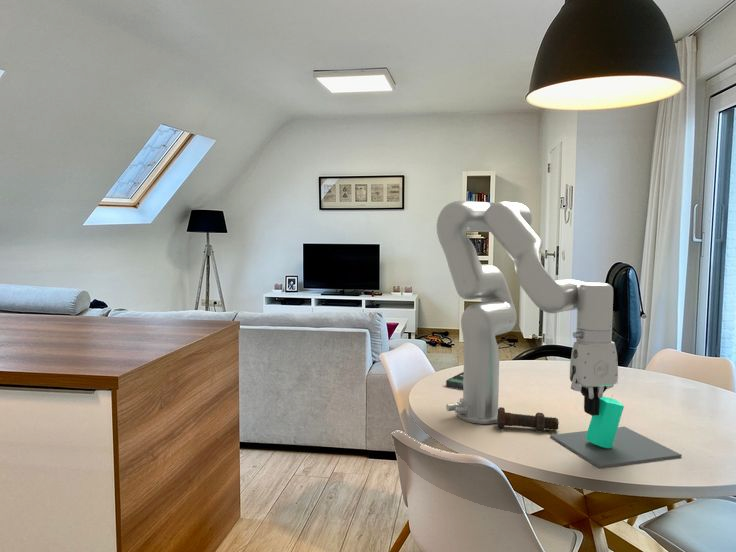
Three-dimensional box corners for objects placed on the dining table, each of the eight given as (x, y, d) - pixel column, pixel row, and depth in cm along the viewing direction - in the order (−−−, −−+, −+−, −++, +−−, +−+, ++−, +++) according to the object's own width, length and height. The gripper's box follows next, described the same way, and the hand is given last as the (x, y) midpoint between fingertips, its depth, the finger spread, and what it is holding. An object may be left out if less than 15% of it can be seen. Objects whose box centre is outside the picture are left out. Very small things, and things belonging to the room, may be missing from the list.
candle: (589, 435, 131) (603, 389, 130) (614, 446, 127) (629, 398, 127) (582, 438, 126) (596, 390, 126) (608, 450, 123) (622, 400, 122)
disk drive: (464, 378, 188) (445, 388, 176) (464, 370, 188) (445, 379, 176) (492, 383, 182) (475, 393, 170) (492, 375, 182) (475, 384, 170)
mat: (599, 468, 116) (599, 465, 116) (550, 437, 133) (550, 434, 133) (681, 457, 122) (681, 454, 122) (624, 428, 139) (624, 426, 139)
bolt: (557, 439, 137) (497, 433, 140) (555, 423, 141) (497, 418, 144) (560, 424, 134) (499, 418, 137) (558, 408, 138) (498, 403, 141)
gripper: (576, 341, 118) (573, 422, 119) (633, 337, 122) (630, 416, 123) (555, 334, 125) (553, 411, 127) (610, 331, 129) (607, 405, 130)
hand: (591, 413), depth 125 cm, fingers closed
